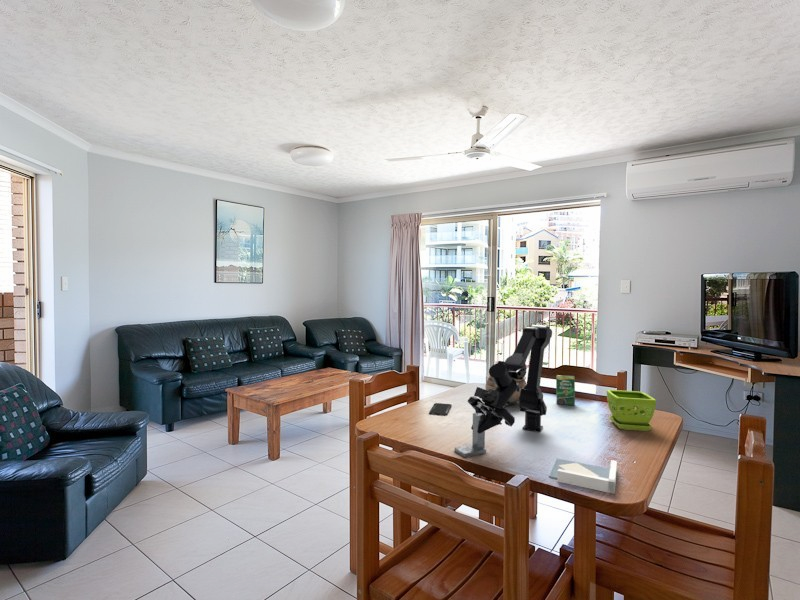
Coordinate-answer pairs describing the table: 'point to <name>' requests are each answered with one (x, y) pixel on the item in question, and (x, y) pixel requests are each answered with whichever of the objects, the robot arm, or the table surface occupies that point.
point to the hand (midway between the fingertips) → (475, 431)
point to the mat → (578, 469)
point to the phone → (440, 409)
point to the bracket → (474, 439)
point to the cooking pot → (515, 396)
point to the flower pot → (631, 409)
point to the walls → (590, 479)
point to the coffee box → (565, 390)
